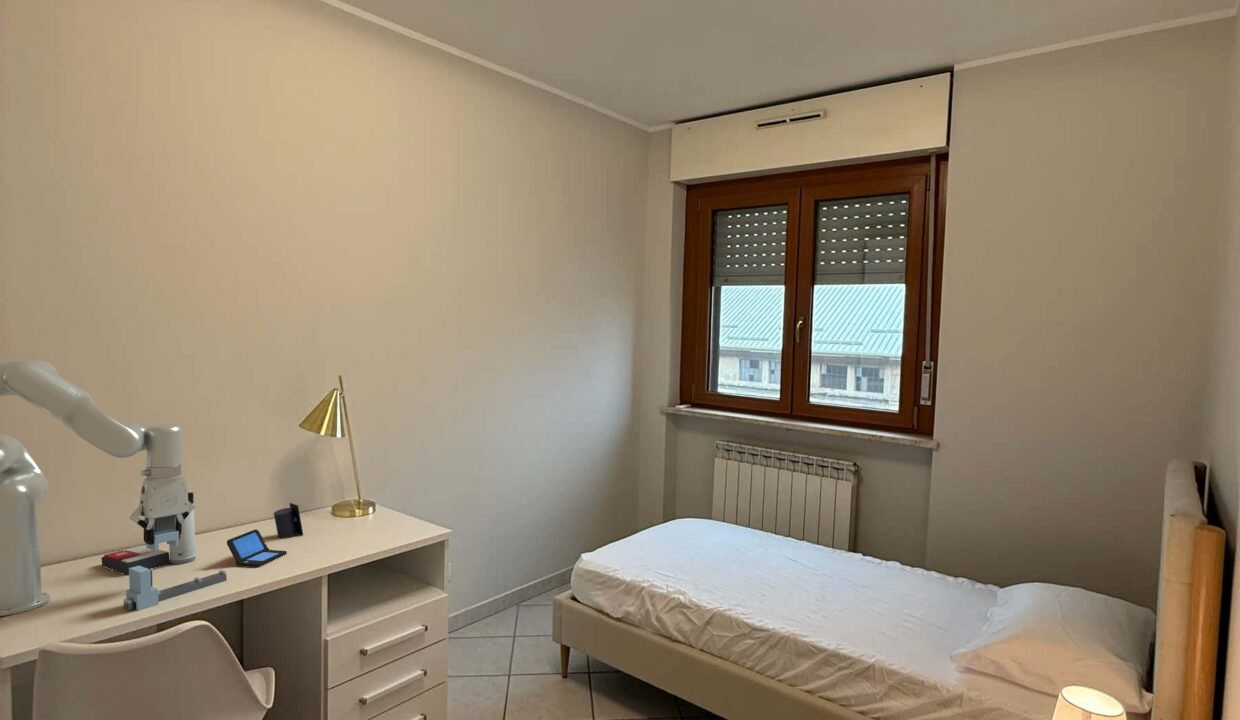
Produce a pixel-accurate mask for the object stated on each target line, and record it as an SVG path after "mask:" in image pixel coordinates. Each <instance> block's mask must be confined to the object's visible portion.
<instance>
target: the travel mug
mask: <svg viewBox="0 0 1240 720" xmlns="http://www.w3.org/2000/svg"><path fill="white" fill-rule="evenodd" d="M194 498H195V497H194V492H188V501H189V502H190V503H192V504H193V505H194V504H195V501H194ZM194 506H195V505H194ZM195 525H196V523H195V509H194V510H193V511H192V512H191V513H189V515H188V516H187V517H186V518H185V520H184V522H183V523H182V533H181V534H180V539H179V546H176V547H175V546H172V545H169V544H168V546H169V547H168V548H169V560H170V564H172V565H183V563H184V564H188V563H191V562H193V561H195V560H196V530H195V529H196V527H195Z"/></svg>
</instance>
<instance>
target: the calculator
mask: <svg viewBox="0 0 1240 720" xmlns="http://www.w3.org/2000/svg"><path fill="white" fill-rule="evenodd" d="M167 564H168V565H170V564H171V563H170V551H166V550H161V549H159V550H158V551H153V550H151V549H148V548H146V545H139V546H135V547H131V548H130V547H129V548H126V549H125V550H119V551H118V550H117V551H114V552H110V553H107V554H104V555H103V556H101V567H102V566H105V567H107V568H106V569H108V568H110V569H109V570H111V569H113V570H112V571H114V570H115V571H114V572H118V573H119V572H120V573H119V574H121V573H123V574H122V575H124V574H125V575H124V576H129V568H132V567H136V566H142V567H144V568H147V569H150V570H152V569H151V568H153V569H156V568H155V567H157V568H160V567H159V566H161V567H164V566H167ZM163 565H164V566H163ZM105 567H104V568H105Z"/></svg>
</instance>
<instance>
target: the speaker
mask: <svg viewBox="0 0 1240 720" xmlns="http://www.w3.org/2000/svg"><path fill="white" fill-rule="evenodd" d="M273 517H274V523H275V527H276V533H277V536H278V537H277V538H279V539H282V538H283V539H285V538H290V537H292V536H294V535H296V534H297V535H299V534H300V536H302V535H303V536H304V532H303V526H302V522H301V521H302V520H301V515H300V509H299V505H297V504H294V503H292V502H290V503H289V507H285V508H282V509H278V510H276V511H275V512H273Z"/></svg>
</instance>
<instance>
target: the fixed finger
mask: <svg viewBox="0 0 1240 720" xmlns="http://www.w3.org/2000/svg"><path fill="white" fill-rule="evenodd" d="M128 580H129V581H128V582H129V589H126V590H125V597H126V598H127V599H130V600H131V601H134V602H136V609H135V610H136V611H141V610H144V609H147V608H150V607H153V606H156V605H159V599H158V591H159V588H157V587H155V586H153V570H152V569H147V568H144V567H142V566H136V567H132V568H129V575H128ZM126 598H125V599H126Z"/></svg>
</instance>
